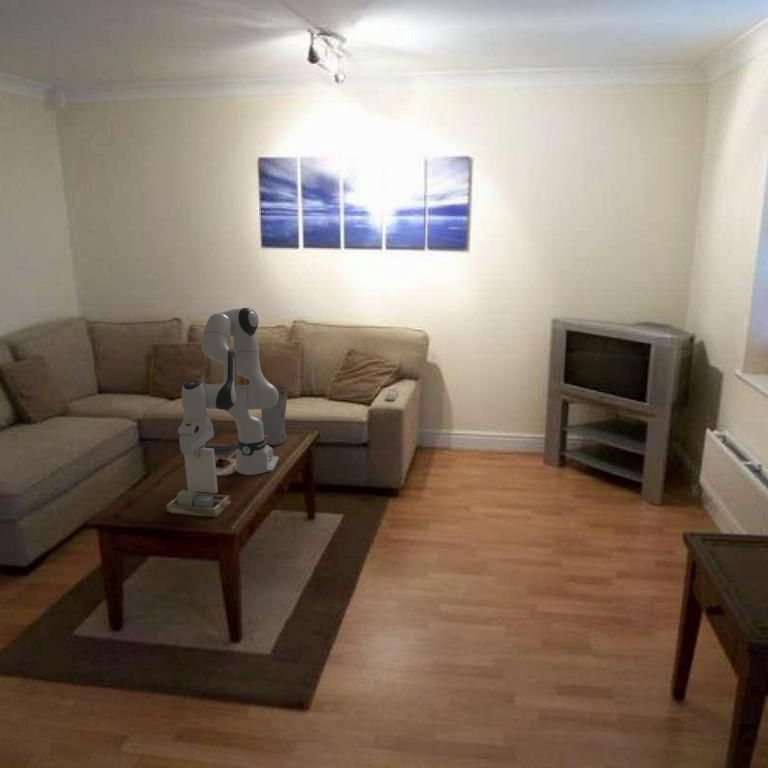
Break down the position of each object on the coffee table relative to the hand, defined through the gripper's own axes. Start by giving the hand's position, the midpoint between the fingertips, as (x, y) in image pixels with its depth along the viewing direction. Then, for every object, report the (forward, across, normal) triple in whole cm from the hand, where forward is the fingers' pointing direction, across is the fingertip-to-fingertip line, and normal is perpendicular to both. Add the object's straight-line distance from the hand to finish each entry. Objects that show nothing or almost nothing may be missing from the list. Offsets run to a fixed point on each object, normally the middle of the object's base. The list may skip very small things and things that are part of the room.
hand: (199, 456), depth 258 cm
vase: (+21, -72, +2) cm, 75 cm away
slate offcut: (+20, +6, +4) cm, 21 cm away
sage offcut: (+20, +6, -4) cm, 21 cm away
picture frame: (+22, -51, -22) cm, 60 cm away
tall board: (+15, 0, 0) cm, 15 cm away
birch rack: (+20, +4, 0) cm, 20 cm away
